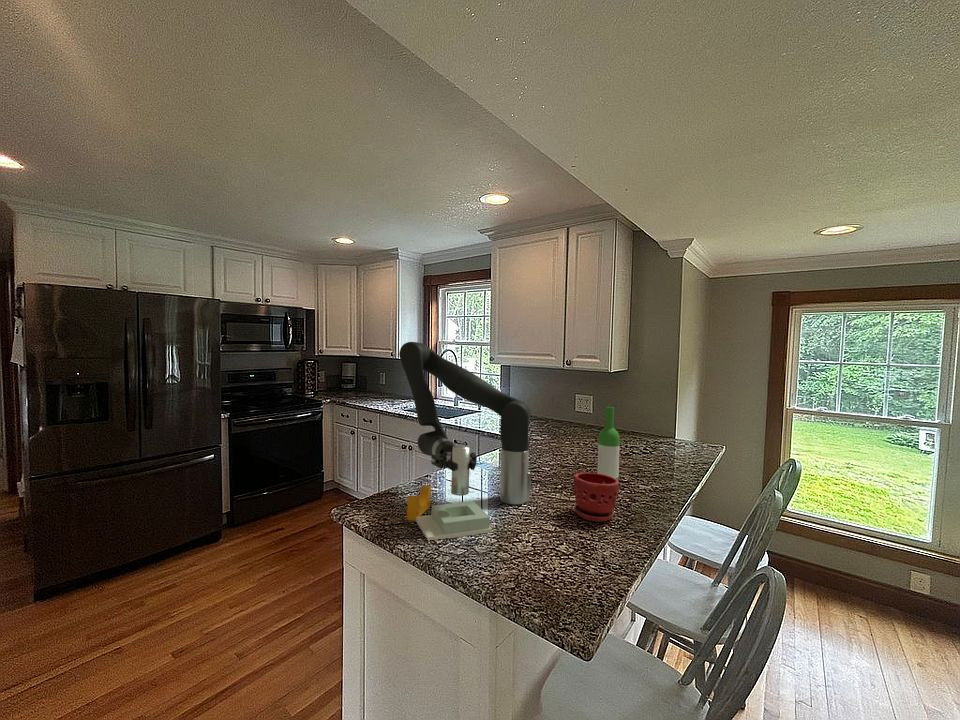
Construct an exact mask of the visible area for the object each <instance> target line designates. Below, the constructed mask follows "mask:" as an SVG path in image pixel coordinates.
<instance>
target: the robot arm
mask: <svg viewBox="0 0 960 720" xmlns="http://www.w3.org/2000/svg"><path fill="white" fill-rule="evenodd" d="M398 355H399V359H400V364H401V366H402V369H403V370H404V373H405V376H406V378H407V381H408V384H409V388H410V390H411V394H412V397H413V402H414V406H415V411H416V417H417V420H418V421H417V422H418V424H419V426H422V427H428V426H429V427H432V428H433V429H434V430H432V431H428V432H424V433H421V434H420V435H419V436H418V438H417V447H418V449H419V451H420V452H421V454H422V453H423V454H424V455H426V456H431V458H430V459H431V461H430V464H431V465H433V466H435V467H437V468H439V469H443V468H444V467H445V468H446V469H448V470H450V471H451V472H452V471H455V469H456V464H455V463H454V462H453V461H452V452H453V446H455V445H457V444H456V443H455V442H454V441H452V440H450V439H449V438H448V435H447V433H446V431H445V430H444V428H443V426H442V423H441V421H440V419H439V415H438V411H437V406H436V401H435V399H434V396H433V393H432V392H431V389H430V387H429V386H428V383H427V381H426V376H425V373H424V372H427V373H429V374H431V375H432V376H433V377H435V378H436V379H438V381H440V382H441V383H442V385H444V386H445V387H446V388H447V389H448V390H449V391H450V392H452V393H453V394H455V395H457V396H458V397H460V398H462V399H464V400H466V401H468V402H471V403H472V404H476V405H478V406H482V407H484V408H487V409H489V410H491V411H492V412H494V413H496V414H498V415H499V417H500V442H501V453H500V458H501V459H500V484H499V485H500V488H499V499H500V501H501V502H503V504H504V503H505V504H508V505H509V504H510V505H521V504H522V505H524V504H526V503H527V502H530V501H531V498H530V497H531V472H530V471H529V457H530V454H529V453H530V452H529V451H530V442H529V424H530V423H529V422H530V420H531V417H532V410H531V409H530V406H529V405H528V404H527V403H525V402H524V401H522V400H519V399H518V398H515V397H513V396H511V395H508V394H507V393H504V392H502V391H500V390H499V389H497V388H496V387H494V386H493V385H492V384H490V383H488V382H487V381H486V380H484V379H482V378H481V377H479V376H478V375H476V374H475V373H472V372H471V371H469V370H468V369H466V368H464V367H462V366H461V365H458V364H456V363H454V362H452V361H449V360H447V359H445V358H443V357H442V356H441V355H439V354H438V353H437V352H435V351H434V350H433V349H431V348H430V347H429V346H427V345H426V344H424V343H422V342H418V341H407V342H405V343H404V344H402V345H401V347H400V349H399V353H398ZM477 457H478V456H477V455H476V453H475V452H473V451H472V452H470V471H473V470H474V471H475V469H476V467H477V465H478V464H477V459H478V458H477ZM525 502H526V503H525Z"/></svg>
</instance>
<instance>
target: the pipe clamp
mask: <svg viewBox="0 0 960 720" xmlns="http://www.w3.org/2000/svg"><path fill="white" fill-rule="evenodd" d="M419 493H420V495H419V494H418V495H416V496H415V495H409V496H408V497H407V508H406V509H407V512H406V516H407V517H406V520H407V521H414V522H416V517H420V516H423V514H424V513H426V512H427V510H428V509H429V508H430V507H431V500H432V497H431V495H432V486H430V485H422V486H421V487H420V492H419Z"/></svg>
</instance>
